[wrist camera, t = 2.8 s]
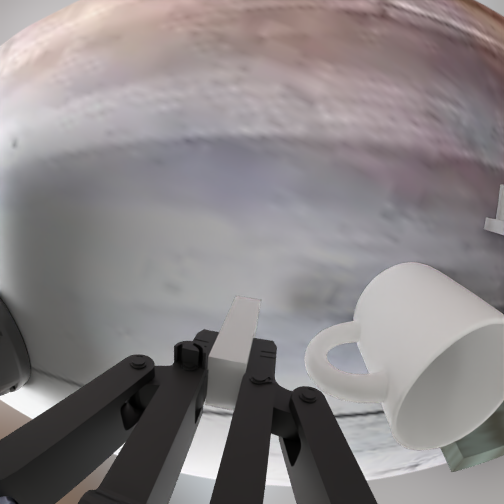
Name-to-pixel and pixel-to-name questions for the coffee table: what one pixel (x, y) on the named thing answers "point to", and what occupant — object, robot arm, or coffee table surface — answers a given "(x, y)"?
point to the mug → (418, 356)
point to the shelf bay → (500, 422)
